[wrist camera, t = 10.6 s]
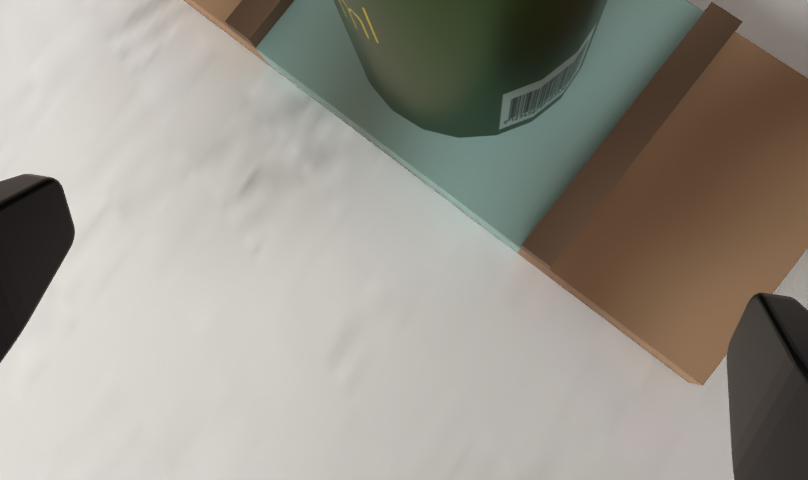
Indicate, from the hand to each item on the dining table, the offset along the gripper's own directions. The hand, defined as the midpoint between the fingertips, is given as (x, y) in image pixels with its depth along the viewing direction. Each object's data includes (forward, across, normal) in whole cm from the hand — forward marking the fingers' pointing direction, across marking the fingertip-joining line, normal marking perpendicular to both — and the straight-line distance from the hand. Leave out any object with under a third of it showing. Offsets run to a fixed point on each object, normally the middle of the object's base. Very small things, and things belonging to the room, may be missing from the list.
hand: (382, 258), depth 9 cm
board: (+11, +2, 0) cm, 11 cm away
